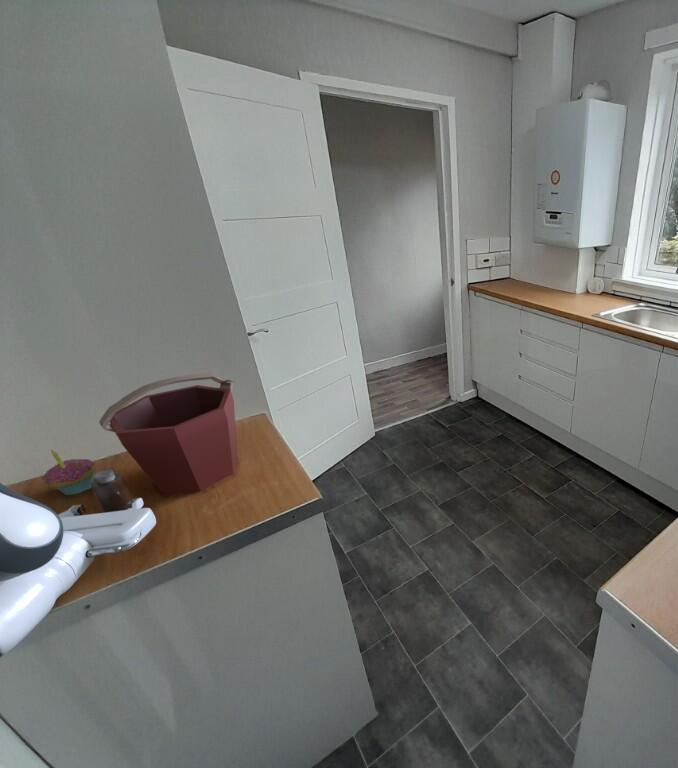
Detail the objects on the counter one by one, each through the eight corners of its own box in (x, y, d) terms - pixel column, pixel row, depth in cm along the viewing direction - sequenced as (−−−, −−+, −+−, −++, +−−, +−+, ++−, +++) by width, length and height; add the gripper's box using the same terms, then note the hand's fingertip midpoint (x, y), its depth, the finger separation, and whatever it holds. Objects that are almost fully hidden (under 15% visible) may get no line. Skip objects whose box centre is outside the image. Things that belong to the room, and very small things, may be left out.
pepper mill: (117, 541, 80) (88, 483, 74) (113, 530, 83) (86, 473, 77) (145, 529, 83) (120, 473, 78) (141, 519, 86) (116, 464, 80)
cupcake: (99, 492, 93) (76, 448, 88) (47, 506, 89) (19, 461, 84) (106, 473, 100) (85, 431, 94) (58, 485, 95) (32, 442, 90)
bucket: (250, 437, 115) (225, 354, 104) (264, 477, 99) (235, 385, 88) (137, 469, 101) (94, 378, 90) (132, 521, 85) (79, 418, 75)
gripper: (122, 535, 67) (166, 484, 79) (-34, 556, 63) (38, 497, 75) (135, 564, 70) (176, 509, 82) (-14, 585, 65) (53, 524, 78)
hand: (109, 504), depth 78 cm, fingers open, 8 cm apart
